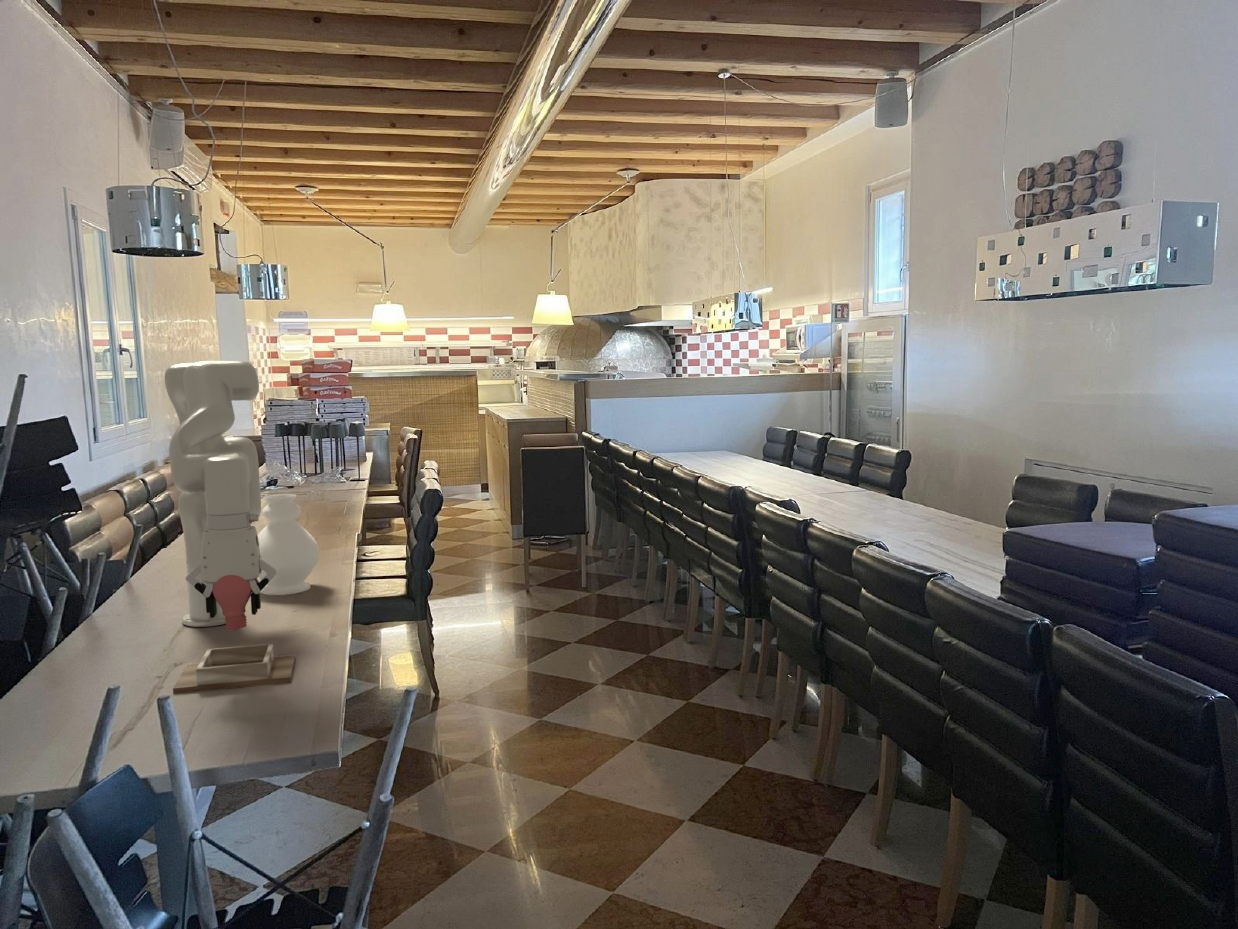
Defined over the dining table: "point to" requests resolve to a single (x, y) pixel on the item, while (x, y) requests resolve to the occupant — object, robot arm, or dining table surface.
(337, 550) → the dining table surface
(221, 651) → the bulb holder
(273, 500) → the decorative vase
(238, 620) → the light bulb
